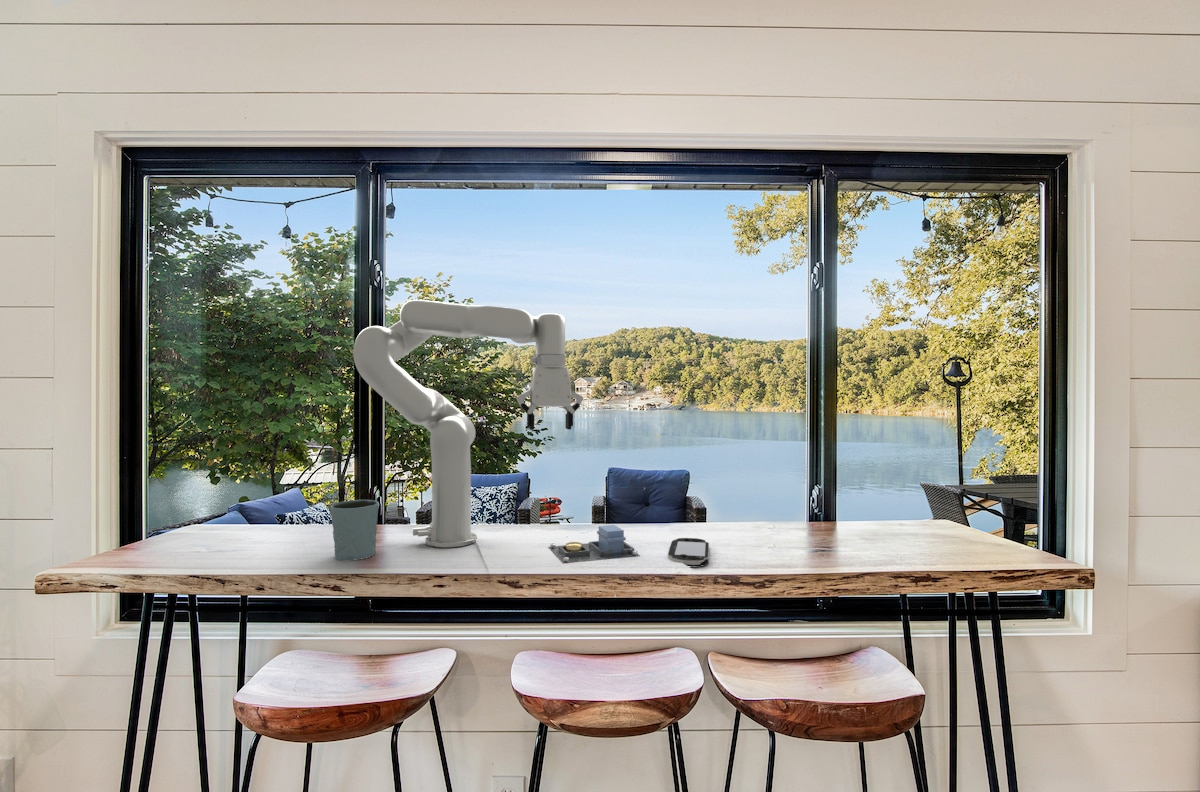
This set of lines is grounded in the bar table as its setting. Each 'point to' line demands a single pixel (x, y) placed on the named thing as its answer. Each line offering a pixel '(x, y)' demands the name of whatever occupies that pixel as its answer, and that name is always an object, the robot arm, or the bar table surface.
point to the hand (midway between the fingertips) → (550, 429)
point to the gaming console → (689, 551)
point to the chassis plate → (590, 553)
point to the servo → (611, 538)
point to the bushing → (573, 546)
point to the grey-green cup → (354, 528)
